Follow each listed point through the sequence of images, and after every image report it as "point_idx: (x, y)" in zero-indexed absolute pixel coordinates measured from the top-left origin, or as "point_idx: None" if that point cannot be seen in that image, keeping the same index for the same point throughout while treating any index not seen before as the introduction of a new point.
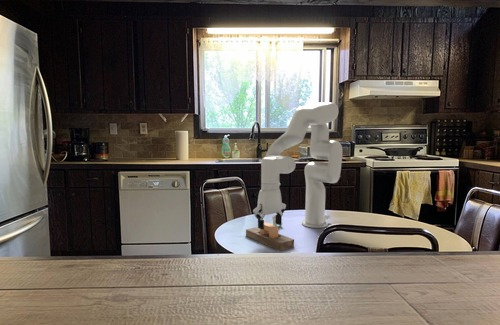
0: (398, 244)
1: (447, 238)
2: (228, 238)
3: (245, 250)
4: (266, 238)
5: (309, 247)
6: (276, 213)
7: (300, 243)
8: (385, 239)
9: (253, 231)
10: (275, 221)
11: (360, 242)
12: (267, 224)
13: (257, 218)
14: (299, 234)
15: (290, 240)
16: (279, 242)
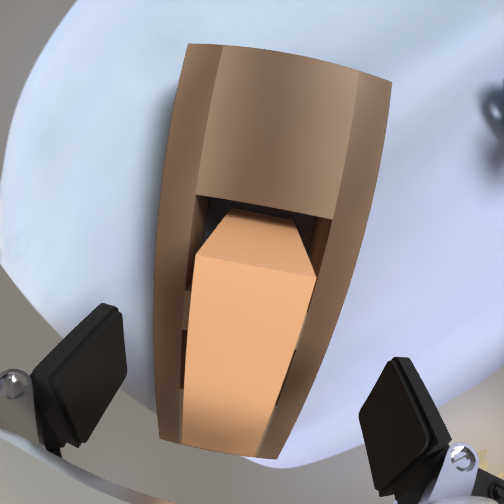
0: None
1: (500, 475)
2: (81, 47)
3: (38, 285)
4: (154, 355)
5: (318, 455)
6: (440, 467)
7: (346, 420)
8: (482, 464)
9: (191, 146)
10: None
11: None
12: (236, 362)
13: (8, 389)
14: (480, 332)
15: (247, 456)
16: (169, 436)
